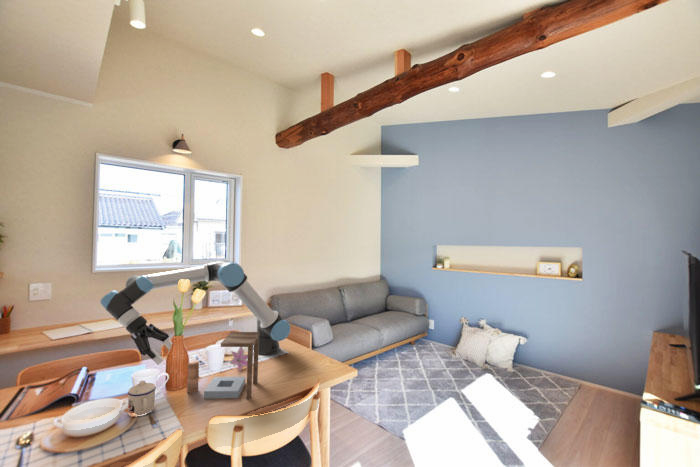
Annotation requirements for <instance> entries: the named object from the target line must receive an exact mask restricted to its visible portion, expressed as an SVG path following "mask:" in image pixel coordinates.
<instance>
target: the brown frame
mask: <svg viewBox="0 0 700 467" xmlns="http://www.w3.org/2000/svg"><path fill="white" fill-rule="evenodd" d="M240 347H242V348H247V355H248V358H247V367H246V392H245V393H246V397H245V398H246V400H251V399H252V393H253V391H252V390H253V389H252V388H253V385H257V384H258V380H259V378H258V377H259V375H258V374H259V354H258V353H259V332H257V331H230V333H228V334H227V336H225V338H224V339H223V340H222V341H221V342H220V348H240ZM253 347H254V352H253Z"/></svg>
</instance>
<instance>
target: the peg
mask: <svg viewBox="0 0 700 467" xmlns="http://www.w3.org/2000/svg"><path fill="white" fill-rule="evenodd" d="M199 369H200V362H199V361H195V360H194V361H191V362H188V363H187V377H186V379H187V380H186V382H187V384H186V385H187V386H186V393H188V392H189V393H188V394H193V393H194V392H195V393H197V392H198V391H199V377H200V376H199V375H200V371H199ZM195 393H194V394H195Z"/></svg>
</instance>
